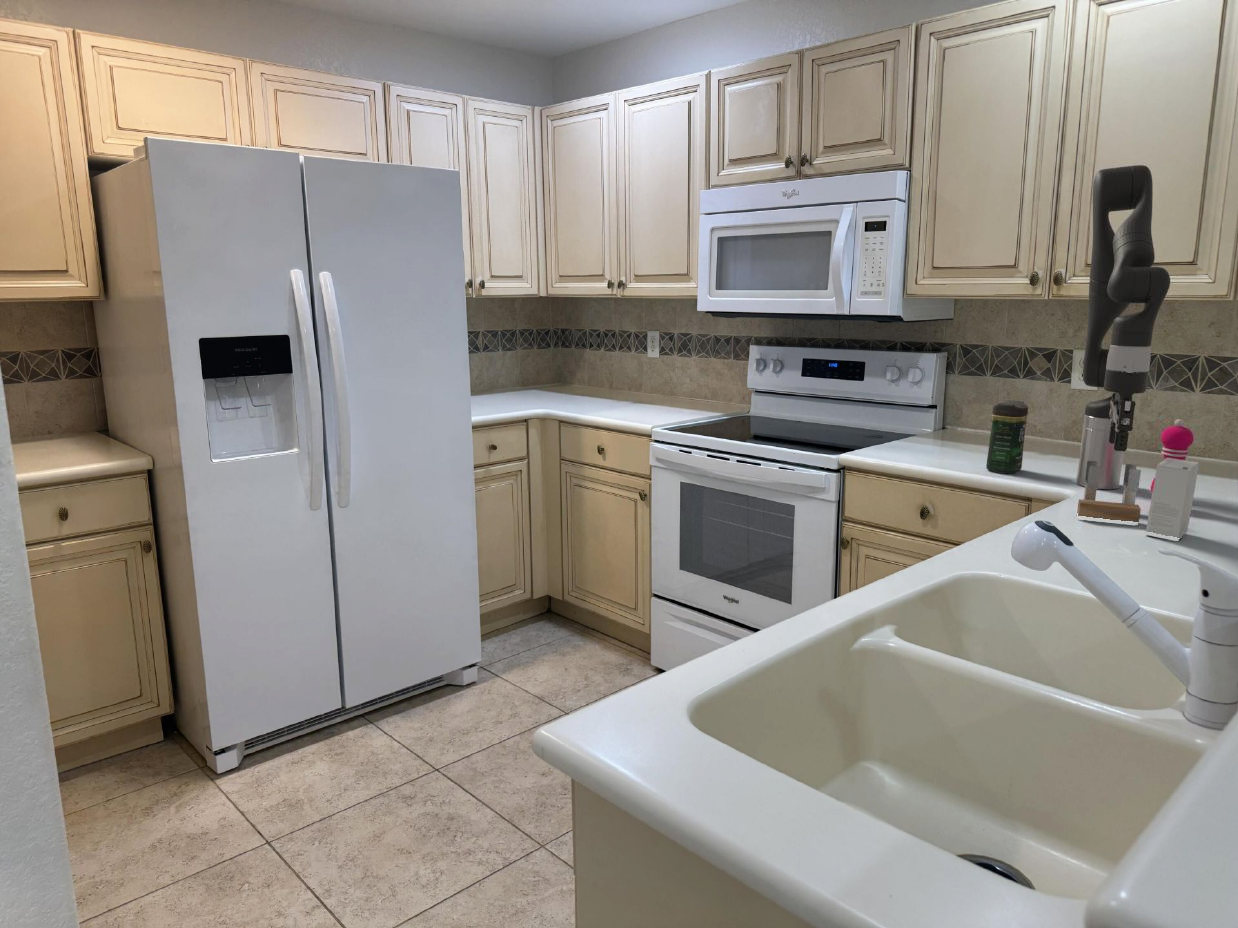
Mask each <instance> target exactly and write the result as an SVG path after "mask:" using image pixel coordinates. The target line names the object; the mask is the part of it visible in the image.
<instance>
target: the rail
mask: <svg viewBox="0 0 1238 928" xmlns="http://www.w3.org/2000/svg"><path fill="white" fill-rule="evenodd" d="M1076 511H1077V512H1076V514H1077V513H1078V516H1086V517H1093V518H1103V519H1110V520H1121V521H1133V522H1139V523H1140V514H1141V507H1140V505H1139V504H1136V503H1135V504H1125V503H1122V502H1112V501H1103V500H1095V501H1093V500H1083V499H1082V498H1081V499H1080V498H1079V499H1078V503H1077V510H1076Z"/></svg>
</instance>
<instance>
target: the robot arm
mask: <svg viewBox="0 0 1238 928" xmlns="http://www.w3.org/2000/svg"><path fill="white" fill-rule="evenodd" d="M1092 184H1093V185H1092V248H1091V258H1090V259H1091V261H1090V269H1089V271H1090V272H1089V285H1088V316H1087V317H1088V319H1087V331H1086V332H1087V333H1086V341H1085V349H1084V355H1083V366H1082V379H1083V383H1084V384H1085V385H1086V387H1087V386H1088V387H1091V388H1093V387H1094V388H1103V389H1104V391H1107V392H1109V393H1110V392H1111V393H1112V394H1111V396H1109V397H1106V398H1103V399H1100V400H1095V401H1090V402H1089V403H1086V405H1085V407H1084V408H1085V409H1084V419H1083V425H1082V426H1083V427H1082V433H1081V434H1082V435H1081V441H1080V444H1081V445H1080V452H1079V460H1078V465H1077V466H1078V467H1077V474H1076V482H1075V483H1076V484H1077V485H1078V486H1081V487H1085V474H1086V465H1087V460H1089V461H1098V463H1097V466H1100V467H1101V468H1100V476H1099V484H1098V489H1097V490H1115V489H1119V487H1120V482H1121V481H1120V480H1121V473H1122V466H1123V459H1124V453H1125V452H1126V451H1127V450H1128V449H1127V448H1128V442H1129V434H1130V433H1131V432H1132V431H1133V424H1134V419H1135V417H1134V415H1135V409H1136V405H1137V404H1136V403H1137V402H1136V401H1135V400H1133V395H1134V394H1143V393H1145V392H1146V391H1147V388H1148V387H1147V386H1148V380H1149V375H1150V373H1149V372H1150V366H1151V354H1152V353H1151V348H1152V347H1151V346H1152V342H1153V341H1152V340H1153V334H1154V333H1153V331H1154V327H1155V323H1156V319H1157V316H1158V315H1159V311H1160V309H1161V307H1162V304H1163V303H1164V301H1165V298H1166V296H1167V294H1168V292H1169V289H1170V287H1171V275H1170V274H1169V271H1167V269H1166V268H1164V267H1160V266H1153V265H1154V263H1155V257H1156V256H1155V255H1156V254H1155V248H1154V241H1153V237H1152V221H1153V220H1152V219H1153V198H1154V197H1153V195H1154V194H1153V193H1154V192H1153V184H1154V183H1153V175H1152V172H1151V170H1150V168H1149V167H1148V166H1146V165H1144V164H1137V165H1128V166H1126V165H1125V166H1120V167H1119V166H1118V167H1111V168H1102V169H1099V170H1098V171H1097V172H1096V173H1095V175H1094V179H1093V183H1092ZM1132 210H1133V211H1132ZM1120 211H1132V212H1130V214H1129V215H1128V216H1127V218H1126V219H1125V220H1124V221H1123V222H1122V223H1121V225H1120V226H1119V227H1118V229H1117V230H1116V232H1115V231H1114V229H1113V226H1112V224H1111V221H1110V218H1109V217H1110V216H1109V214H1110V213H1111V212H1120ZM1130 304H1144V305H1143V306H1142V307H1141V309H1140V310H1139V311H1138V312H1135V313H1131V314H1123V313H1124V312H1125V311H1126V309H1127V308H1128V307H1129V306H1130ZM1122 314H1123V315H1122ZM1111 327H1112V329H1111V337H1110V346H1109V348H1102V345H1103V344H1102V343H1103V340H1104V339H1105V337H1106V335H1107V333H1108V332H1109V330H1110V328H1111Z"/></svg>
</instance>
